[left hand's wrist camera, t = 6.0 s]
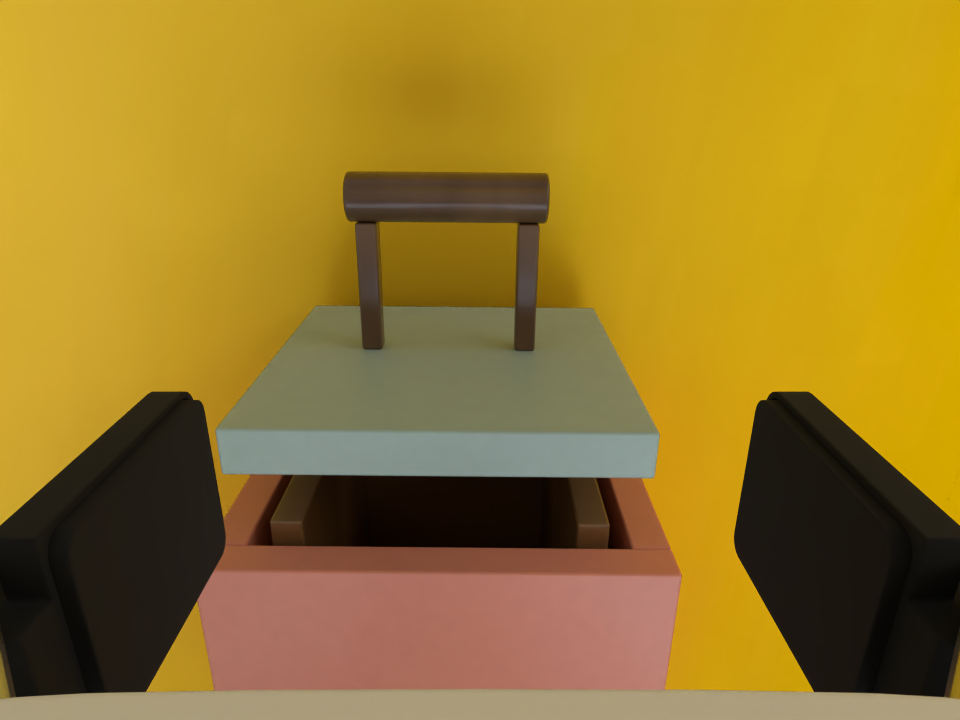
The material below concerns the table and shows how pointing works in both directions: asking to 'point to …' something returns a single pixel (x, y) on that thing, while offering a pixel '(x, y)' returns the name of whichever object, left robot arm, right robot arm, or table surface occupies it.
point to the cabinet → (441, 608)
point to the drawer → (443, 398)
